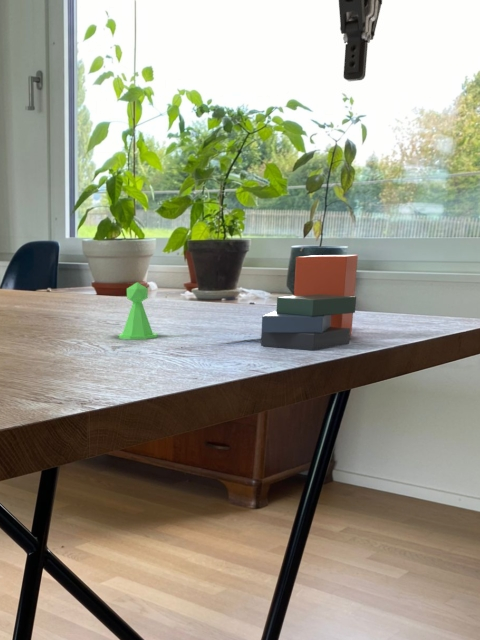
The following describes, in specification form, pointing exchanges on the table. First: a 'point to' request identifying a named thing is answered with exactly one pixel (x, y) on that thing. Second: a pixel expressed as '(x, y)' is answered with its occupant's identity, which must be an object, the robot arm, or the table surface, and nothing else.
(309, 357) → the table surface
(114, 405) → the table surface
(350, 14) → the robot arm
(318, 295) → the block pile
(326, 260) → the tall orange pillar
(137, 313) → the game piece
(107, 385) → the table surface
